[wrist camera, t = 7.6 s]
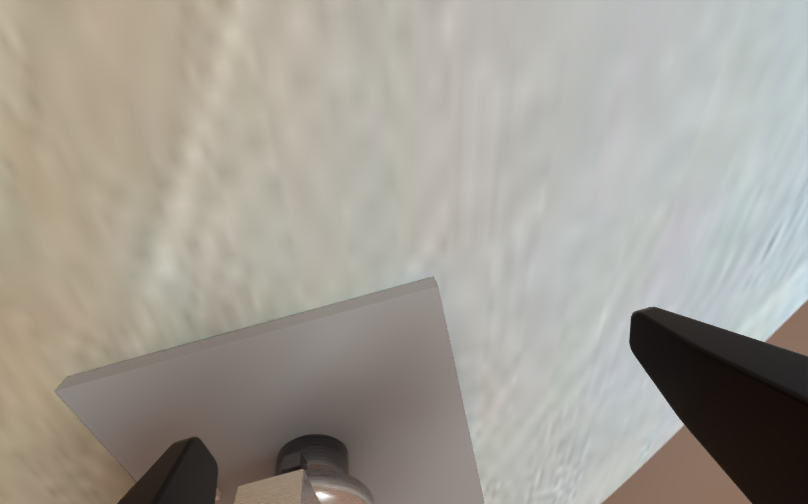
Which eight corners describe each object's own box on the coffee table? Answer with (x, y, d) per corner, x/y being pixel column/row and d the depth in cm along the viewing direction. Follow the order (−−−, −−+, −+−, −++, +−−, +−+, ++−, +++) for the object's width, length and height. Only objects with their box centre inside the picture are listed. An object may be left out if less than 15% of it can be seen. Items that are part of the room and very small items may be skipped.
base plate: (228, 564, 29) (223, 586, 28) (66, 377, 20) (48, 397, 19) (480, 490, 30) (486, 508, 29) (433, 276, 21) (439, 290, 20)
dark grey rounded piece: (296, 497, 25) (291, 548, 23) (259, 435, 23) (248, 485, 20) (360, 479, 26) (363, 527, 23) (331, 415, 23) (330, 461, 20)
